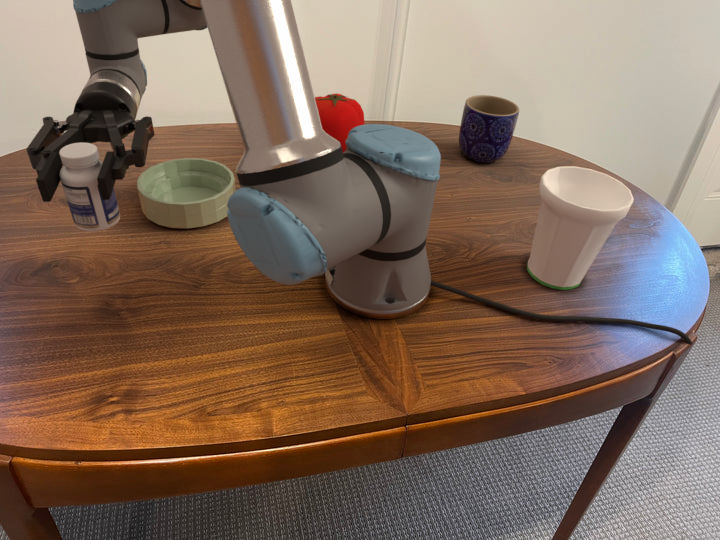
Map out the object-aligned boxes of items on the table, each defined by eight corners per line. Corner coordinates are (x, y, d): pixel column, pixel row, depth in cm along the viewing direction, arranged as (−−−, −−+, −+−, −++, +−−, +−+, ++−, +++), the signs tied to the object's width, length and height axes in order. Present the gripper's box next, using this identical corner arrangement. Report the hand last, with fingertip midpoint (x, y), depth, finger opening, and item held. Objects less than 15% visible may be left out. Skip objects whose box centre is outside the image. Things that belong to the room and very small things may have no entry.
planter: (459, 140, 119) (469, 91, 112) (508, 150, 117) (522, 100, 110) (450, 161, 111) (461, 109, 104) (503, 172, 109) (517, 120, 102)
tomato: (368, 162, 108) (374, 107, 101) (302, 165, 105) (303, 108, 98) (355, 136, 117) (359, 84, 110) (294, 138, 114) (294, 84, 107)
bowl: (254, 203, 93) (253, 177, 90) (186, 242, 82) (182, 215, 79) (193, 174, 99) (190, 149, 96) (122, 207, 89) (116, 181, 85)
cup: (546, 306, 77) (581, 217, 68) (498, 256, 86) (523, 171, 76) (612, 290, 81) (654, 203, 72) (560, 243, 90) (591, 161, 81)
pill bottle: (111, 205, 70) (94, 135, 64) (127, 224, 67) (111, 153, 61) (68, 217, 67) (45, 145, 61) (82, 238, 64) (61, 165, 58)
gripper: (179, 131, 80) (166, 215, 63) (45, 132, 77) (-8, 222, 59) (172, 81, 76) (156, 157, 58) (29, 80, 72) (-34, 160, 55)
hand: (73, 189), depth 59 cm, fingers closed on pill bottle, 5 cm apart
